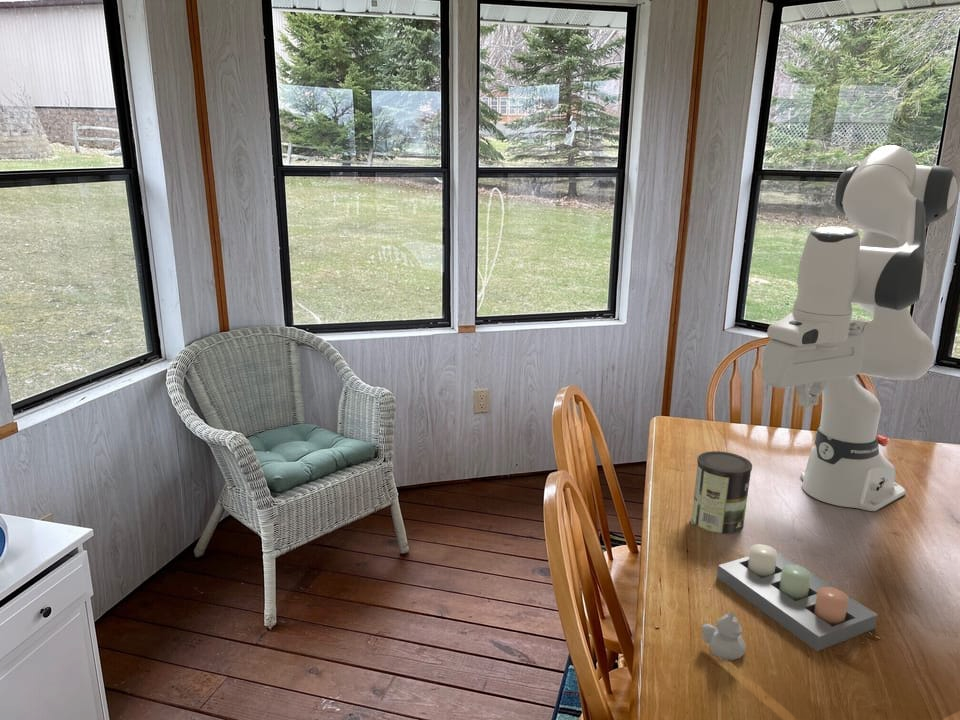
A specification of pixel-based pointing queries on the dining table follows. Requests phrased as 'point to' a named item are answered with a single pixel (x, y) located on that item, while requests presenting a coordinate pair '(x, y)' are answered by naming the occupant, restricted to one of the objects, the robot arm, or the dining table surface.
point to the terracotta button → (831, 605)
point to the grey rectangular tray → (795, 604)
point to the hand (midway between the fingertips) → (807, 405)
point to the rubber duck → (725, 637)
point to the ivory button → (762, 560)
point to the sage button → (795, 581)
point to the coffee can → (721, 492)
